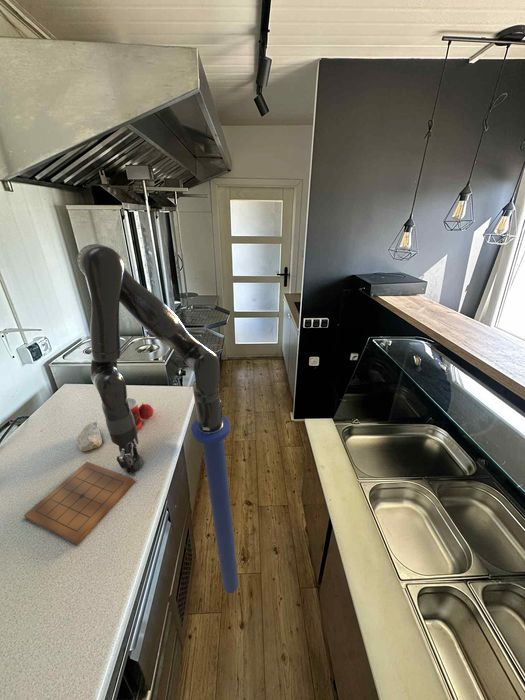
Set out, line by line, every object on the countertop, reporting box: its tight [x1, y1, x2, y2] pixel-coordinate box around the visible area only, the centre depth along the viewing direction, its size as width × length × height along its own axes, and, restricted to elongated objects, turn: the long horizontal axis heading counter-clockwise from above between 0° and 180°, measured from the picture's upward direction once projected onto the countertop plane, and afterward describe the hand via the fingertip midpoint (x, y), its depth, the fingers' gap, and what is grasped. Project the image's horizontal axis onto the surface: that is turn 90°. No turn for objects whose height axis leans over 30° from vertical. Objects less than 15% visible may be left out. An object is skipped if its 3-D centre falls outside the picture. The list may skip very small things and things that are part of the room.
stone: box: [76, 420, 103, 452], centre depth 104 cm, size 8×12×10 cm
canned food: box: [127, 397, 143, 431], centre depth 110 cm, size 8×8×11 cm
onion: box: [138, 402, 154, 420], centre depth 115 cm, size 6×6×8 cm
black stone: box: [125, 453, 143, 472], centre depth 95 cm, size 5×5×3 cm
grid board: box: [23, 461, 135, 546], centre depth 84 cm, size 20×20×2 cm
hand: (133, 464), depth 95 cm, fingers closed on black stone, 5 cm apart
